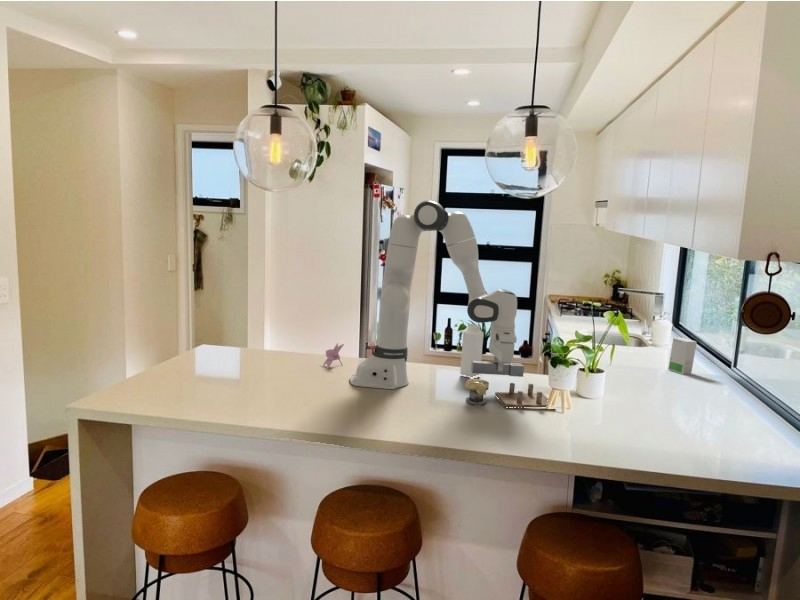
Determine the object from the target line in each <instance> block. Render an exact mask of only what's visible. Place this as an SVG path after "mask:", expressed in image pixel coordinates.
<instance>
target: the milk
mask: <svg viewBox="0 0 800 600" xmlns="http://www.w3.org/2000/svg"><path fill="white" fill-rule="evenodd" d="M462 334H463V335H462V346H461V357H460V358H461V359H460V368H459V369H460V371H459V375H460V374H462V375H466V376H470V377H473V376H476V375H479V374H477V373H472V372H471V363H472V361H482V356H483V345H484V331H482V330H481V325H479V324H473V323H468V324H467V327H466V328H465V329H464V330H463V333H462Z"/></svg>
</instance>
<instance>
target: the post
mask: <svg viewBox="0 0 800 600" xmlns="http://www.w3.org/2000/svg"><path fill="white" fill-rule="evenodd" d="M468 395H469V396H468V397H466V398H465V402H466V404H469V405H473V406H484V405H486V404H487V400H486V399H485V398H484V396H485V395H480V394H478V393H477V391H474V390H470V389H469V394H468ZM485 403H486V404H485ZM483 404H484V405H483Z"/></svg>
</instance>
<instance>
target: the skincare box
mask: <svg viewBox="0 0 800 600" xmlns="http://www.w3.org/2000/svg"><path fill="white" fill-rule="evenodd" d="M697 343H698V342H697V341H696V340H692V339H690V338H685V337H673V338H672V343H671V348H670V349H671V350H670V355H669V361H668V367H667V369H668V370H669V371H672V372H674V373H678V374H680V375H688V374H689V375H690V374H691V375H692V371H693V365H694V358H695V353H696V348H697Z"/></svg>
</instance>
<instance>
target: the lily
mask: <svg viewBox="0 0 800 600" xmlns="http://www.w3.org/2000/svg"><path fill="white" fill-rule="evenodd" d="M344 345H345V344H344V343H343V344H340V345H339V343H338V342H337V343H336V345H335V346H334V348H333V349H328V350H326V351H325V356H326V360H325V361H324V363H323V366H325V365H326V368H327V370H329V369H330V367H331V365H332V363H333V362H334V361H338V360H339V363H340V364H341V365H343V363H342V361H341V360H340V359H341V357H340V354H339V353H340V351H341V349H342V348H343V347H344Z"/></svg>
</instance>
